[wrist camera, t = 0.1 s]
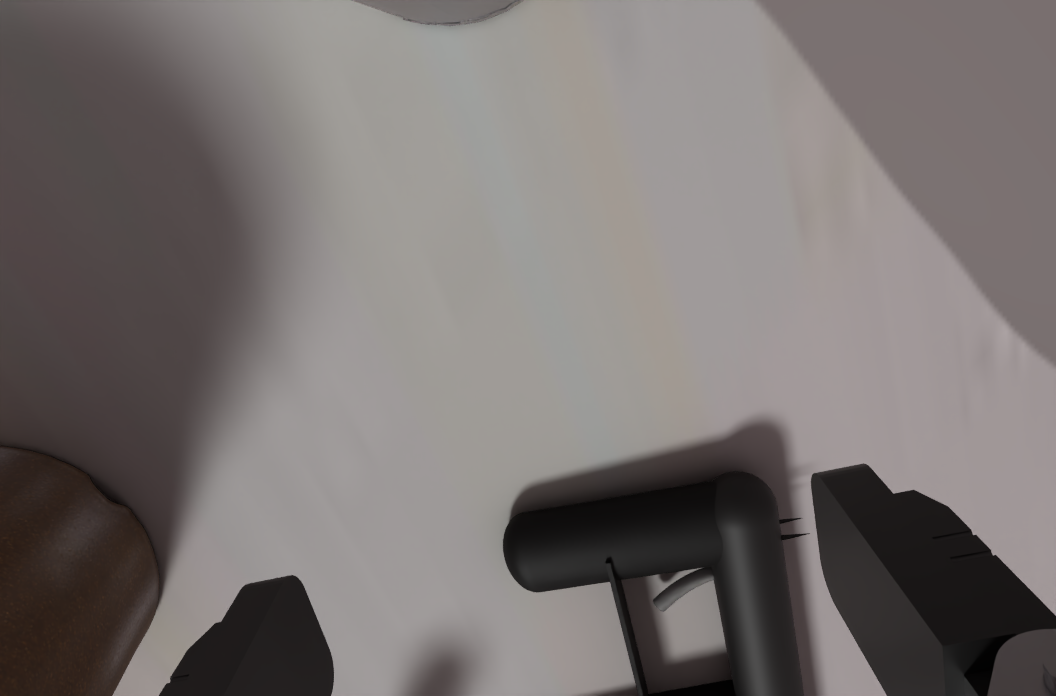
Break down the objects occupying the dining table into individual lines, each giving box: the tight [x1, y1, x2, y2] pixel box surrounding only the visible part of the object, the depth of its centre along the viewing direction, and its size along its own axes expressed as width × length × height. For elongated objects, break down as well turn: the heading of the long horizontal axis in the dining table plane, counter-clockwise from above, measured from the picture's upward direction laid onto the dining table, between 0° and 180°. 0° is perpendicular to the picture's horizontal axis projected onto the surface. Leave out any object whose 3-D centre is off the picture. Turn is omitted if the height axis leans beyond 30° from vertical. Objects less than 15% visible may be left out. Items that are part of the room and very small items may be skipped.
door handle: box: [503, 472, 810, 696], centre depth 33 cm, size 3×20×16 cm
